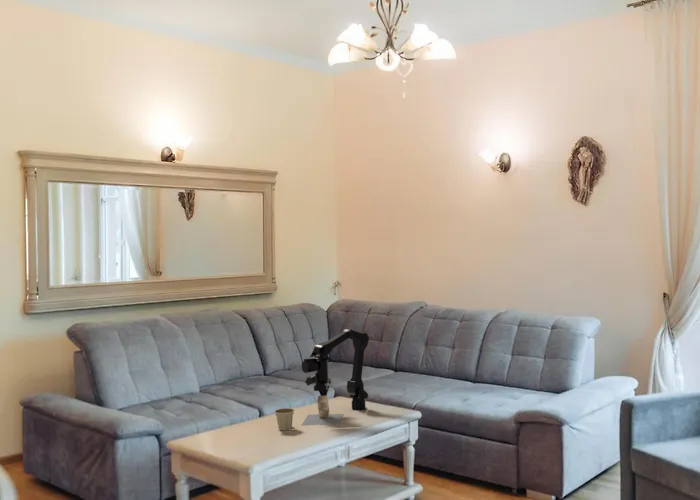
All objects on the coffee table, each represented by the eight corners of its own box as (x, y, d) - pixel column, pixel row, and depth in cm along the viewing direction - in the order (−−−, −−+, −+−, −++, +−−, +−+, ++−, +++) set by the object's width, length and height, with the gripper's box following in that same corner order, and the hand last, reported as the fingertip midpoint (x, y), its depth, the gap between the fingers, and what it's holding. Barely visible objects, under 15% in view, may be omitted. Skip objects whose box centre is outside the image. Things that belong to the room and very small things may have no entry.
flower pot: (294, 431, 321) (293, 412, 321) (273, 432, 322) (273, 413, 322) (296, 426, 331) (295, 407, 331) (276, 426, 331) (275, 408, 331)
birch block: (329, 411, 345) (327, 395, 341) (328, 417, 341) (326, 401, 337) (320, 412, 346) (318, 395, 341) (319, 417, 341) (317, 401, 337)
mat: (343, 415, 348) (343, 413, 348) (339, 425, 328) (339, 424, 328) (308, 415, 349) (308, 414, 349) (301, 426, 329) (301, 425, 329)
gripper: (309, 367, 353) (310, 397, 353) (302, 373, 335) (304, 406, 335) (330, 366, 352) (332, 397, 352) (325, 373, 334) (327, 405, 334)
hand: (323, 401), depth 343 cm, fingers closed
